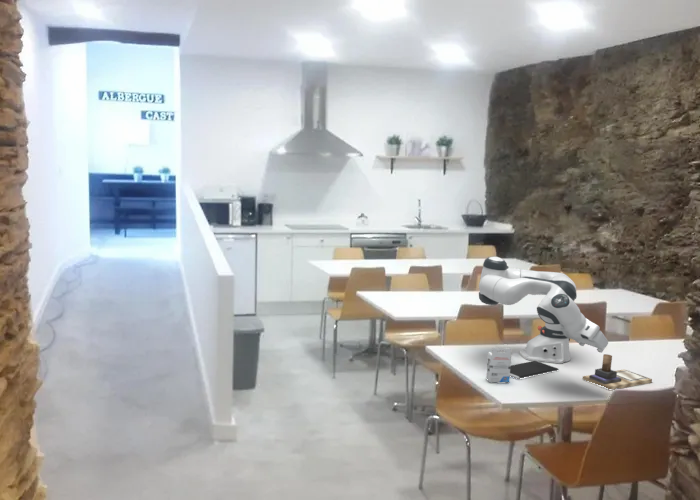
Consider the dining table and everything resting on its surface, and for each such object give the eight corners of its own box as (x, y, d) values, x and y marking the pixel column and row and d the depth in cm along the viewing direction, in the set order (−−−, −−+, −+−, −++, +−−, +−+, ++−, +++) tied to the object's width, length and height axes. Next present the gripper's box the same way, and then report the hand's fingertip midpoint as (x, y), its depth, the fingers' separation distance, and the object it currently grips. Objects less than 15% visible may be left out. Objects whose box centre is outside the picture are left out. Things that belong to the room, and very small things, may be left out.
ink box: (505, 379, 288) (508, 344, 286) (509, 383, 283) (512, 348, 281) (485, 378, 287) (488, 344, 285) (489, 382, 282) (492, 347, 280)
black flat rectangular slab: (559, 372, 304) (559, 368, 303) (518, 381, 288) (518, 377, 288) (535, 363, 314) (535, 360, 314) (493, 372, 298) (494, 368, 298)
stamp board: (609, 390, 280) (610, 383, 280) (582, 379, 293) (583, 372, 292) (651, 382, 293) (652, 375, 293) (624, 372, 305) (624, 365, 305)
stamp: (606, 379, 285) (608, 358, 283) (594, 375, 290) (596, 354, 289) (616, 377, 288) (618, 356, 286) (604, 373, 293) (606, 352, 292)
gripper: (553, 325, 283) (567, 346, 289) (592, 338, 266) (607, 360, 272) (562, 314, 285) (576, 335, 291) (602, 326, 267) (616, 348, 273)
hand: (591, 347), depth 281 cm, fingers open, 8 cm apart
